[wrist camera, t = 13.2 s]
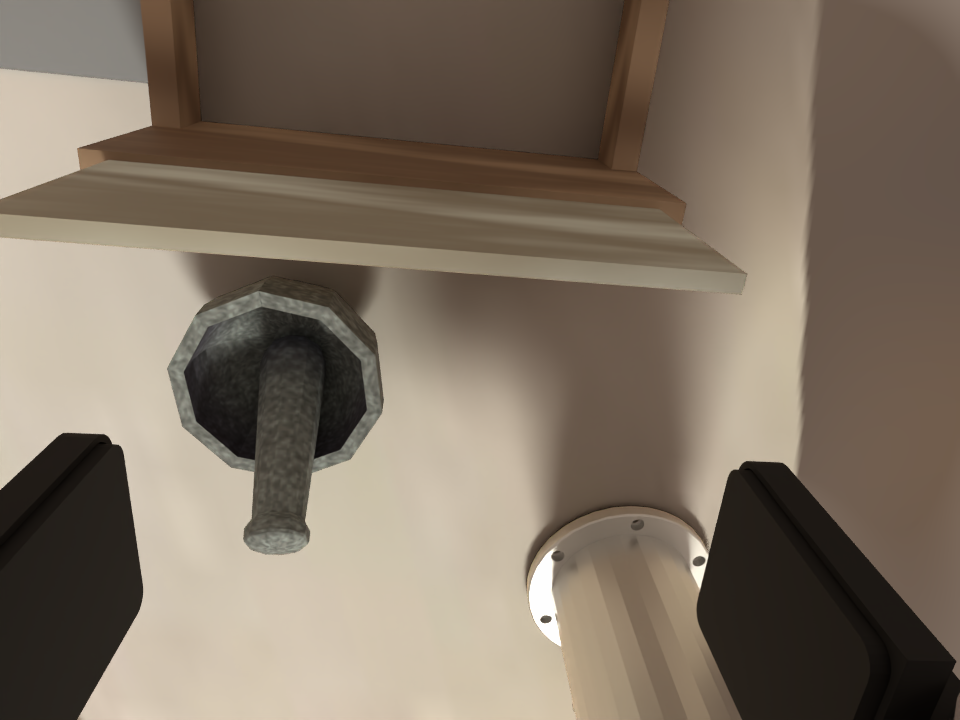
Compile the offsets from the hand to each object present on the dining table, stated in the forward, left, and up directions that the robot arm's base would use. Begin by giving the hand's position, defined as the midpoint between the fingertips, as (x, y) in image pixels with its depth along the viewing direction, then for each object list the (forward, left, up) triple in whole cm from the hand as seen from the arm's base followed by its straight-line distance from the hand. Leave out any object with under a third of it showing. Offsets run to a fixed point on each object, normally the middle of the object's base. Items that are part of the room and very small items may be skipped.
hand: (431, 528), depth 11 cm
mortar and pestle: (-9, +7, -27) cm, 29 cm away
